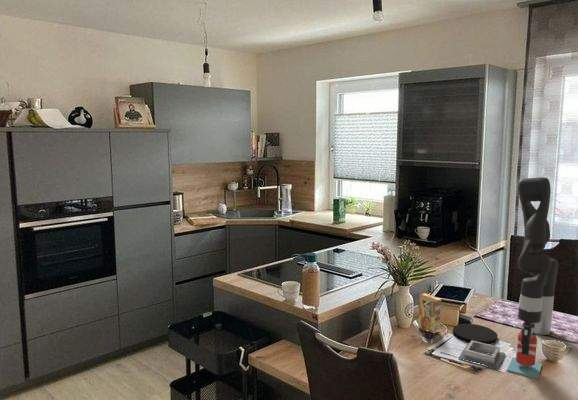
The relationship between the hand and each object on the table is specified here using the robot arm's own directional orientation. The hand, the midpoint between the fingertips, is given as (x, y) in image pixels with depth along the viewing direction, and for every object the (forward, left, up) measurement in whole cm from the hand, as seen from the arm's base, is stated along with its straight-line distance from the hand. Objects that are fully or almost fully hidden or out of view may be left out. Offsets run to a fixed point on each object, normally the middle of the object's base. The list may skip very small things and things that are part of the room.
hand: (526, 350), depth 174 cm
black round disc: (-19, -22, -8) cm, 30 cm away
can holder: (0, -15, -7) cm, 17 cm away
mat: (0, 0, -7) cm, 7 cm away
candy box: (-13, -40, -7) cm, 43 cm away
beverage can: (0, 0, -5) cm, 5 cm away
